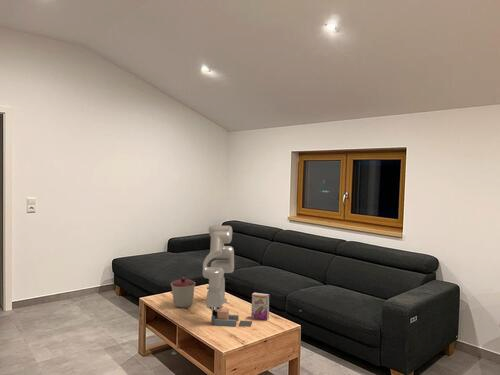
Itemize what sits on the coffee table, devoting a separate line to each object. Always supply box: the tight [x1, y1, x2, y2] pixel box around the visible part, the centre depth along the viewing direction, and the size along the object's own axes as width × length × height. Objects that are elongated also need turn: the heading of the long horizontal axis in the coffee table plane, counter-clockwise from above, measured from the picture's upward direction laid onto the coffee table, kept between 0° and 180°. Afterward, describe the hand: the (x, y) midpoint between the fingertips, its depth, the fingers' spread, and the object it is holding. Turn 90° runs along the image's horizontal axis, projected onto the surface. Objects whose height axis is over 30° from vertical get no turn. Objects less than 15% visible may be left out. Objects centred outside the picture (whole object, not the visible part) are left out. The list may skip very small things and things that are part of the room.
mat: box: [238, 320, 253, 328], centre depth 254 cm, size 9×8×1 cm
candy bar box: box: [251, 292, 270, 321], centre depth 263 cm, size 11×5×16 cm, turn 71°
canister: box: [170, 276, 196, 308], centre depth 287 cm, size 18×18×21 cm
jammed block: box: [217, 307, 230, 320], centre depth 255 cm, size 6×6×8 cm
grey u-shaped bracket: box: [210, 310, 240, 327], centre depth 255 cm, size 11×16×6 cm
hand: (214, 316), depth 256 cm, fingers closed
